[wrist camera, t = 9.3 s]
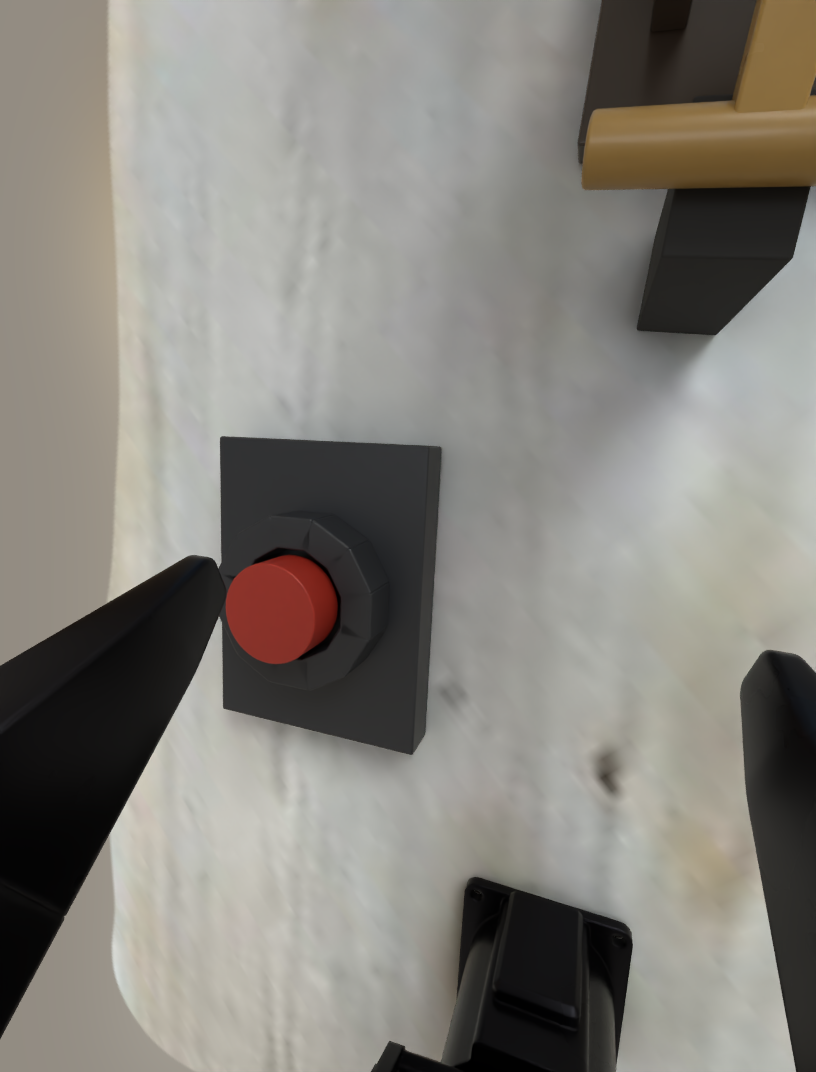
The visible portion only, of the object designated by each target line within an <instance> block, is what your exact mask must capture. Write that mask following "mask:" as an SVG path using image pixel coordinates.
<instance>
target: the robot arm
mask: <svg viewBox="0 0 816 1072" xmlns="http://www.w3.org/2000/svg"><path fill="white" fill-rule="evenodd" d="M225 599H226V586H225V584H224V581H223V579H222V576H221V574H220V572H219V569H218V567H217V564H216V562H215V561H214V560H213V559H212V558H209V557H203V556H197V555H191V556H188V557H186V558H184V559H182V560H181V561H179V562H177V563H175V564H174V565H172V566H170V567H169V568H167V569H165V570H163V571H162V572H160V573H158V574H157V575H155V576H153V577H151V578H150V579H148V580H146V581H145V582H143V583H141V584H140V585H138V586H136V587H134V588H133V589H131V590H129V591H128V592H126V593H124V594H122V595H121V596H119V597H117V598H116V599H114V600H112V601H110V602H109V603H107V604H105V605H104V606H102V607H100V608H98V609H97V610H95V611H93V612H92V613H90V614H88V615H86V616H85V617H83V618H81V619H80V620H78V621H76V622H74V623H73V624H71V625H69V626H68V627H66V628H64V629H62V630H61V631H59V632H57V633H56V634H54V635H52V636H51V637H49V638H47V639H45V640H44V641H42V642H40V643H38V644H37V645H35V646H33V647H32V648H30V649H28V650H26V651H25V652H23V653H21V654H20V655H18V656H16V657H14V658H13V659H11V660H9V661H8V662H6V663H4V664H3V665H1V666H0V1038H1V1037H2V1035H3V1033H4V1031H5V1029H6V1027H7V1025H8V1024H9V1022H10V1020H11V1018H12V1016H13V1014H14V1012H15V1010H16V1008H17V1007H18V1005H19V1003H20V1001H21V999H22V997H23V995H24V994H25V992H26V990H27V988H28V986H29V984H30V982H31V980H32V979H33V977H34V975H35V973H36V971H37V969H38V968H39V966H40V964H41V962H42V960H43V958H44V956H45V954H46V952H47V951H48V949H49V947H50V945H51V943H52V941H53V939H54V938H55V936H56V934H57V932H58V930H59V928H60V926H61V924H62V923H63V921H64V916H65V915H66V914H67V913H68V911H69V909H70V906H71V905H72V903H73V901H74V899H75V898H76V896H77V894H78V892H79V890H80V888H81V886H82V885H83V883H84V881H85V879H86V877H87V875H88V873H89V871H90V869H91V867H92V866H93V864H94V862H95V860H96V858H97V856H98V855H99V853H100V851H101V849H102V847H103V845H104V843H105V841H106V840H107V838H108V836H109V834H110V832H111V830H112V828H113V827H114V825H115V823H116V821H117V819H118V817H119V815H120V813H121V812H122V810H123V808H124V806H125V804H126V802H127V800H128V798H129V797H130V795H131V793H132V791H133V789H134V787H135V785H136V783H137V782H138V780H139V778H140V776H141V774H142V772H143V770H144V768H145V767H146V765H147V763H148V761H149V759H150V757H151V755H152V754H153V752H154V750H155V748H156V746H157V744H158V742H159V740H160V739H161V737H162V735H163V733H164V731H165V729H166V727H167V725H168V724H169V722H170V720H171V718H172V716H173V714H174V712H175V710H176V709H177V707H178V705H179V703H180V701H181V699H182V697H183V695H184V694H185V692H186V690H187V688H188V686H189V684H190V682H191V680H192V678H193V676H194V674H195V672H196V670H197V668H198V666H199V663H200V661H201V659H202V656H203V654H204V651H205V649H206V646H207V644H208V641H209V639H210V636H211V634H212V632H213V629H214V627H215V624H216V622H217V619H218V617H219V614H220V612H221V609H222V607H223V604H224V602H225ZM740 699H741V717H742V735H743V752H744V770H745V784H746V795H747V802H748V808H749V814H750V820H751V825H752V831H753V836H754V842H755V847H756V853H757V858H758V864H759V869H760V875H761V880H762V886H763V891H764V897H765V902H766V908H767V913H768V919H769V924H770V930H771V935H772V941H773V946H774V952H775V957H776V963H777V968H778V974H779V979H780V985H781V990H782V996H783V1001H784V1007H785V1012H786V1018H787V1023H788V1029H789V1034H790V1040H791V1045H792V1051H793V1056H794V1062H795V1067H796V1072H816V672H815V671H814V670H813V669H812V668H811V667H810V666H809V665H808V664H807V663H806V661H805V660H803V659H802V658H801V657H800V656H798V655H796V654H792V653H786V652H780V651H774V650H766V651H764V652H763V653H762V654H761V655H760V656H759V658H758V659H757V660H756V662H755V663H754V665H753V666H752V668H751V669H750V671H749V672H748V674H747V675H746V677H745V678H744V680H743V682H742V685H741V691H740ZM474 890H478V891H479V892H481V894H478V893H476V892H475V891H474ZM615 935H618V936H621V937H623V938H622V939H618V938H616V937H614V936H615ZM632 948H633V943H632V932H631V931H630V929H629V927H627V926H626V925H625V924H624V923H622V922H619V921H616V920H613V919H610V918H607V917H603V916H600V915H597V914H594V913H591V912H587V911H584V910H581V909H578V908H575V907H571V906H568V905H565V904H562V903H559V902H555V901H552V900H549V899H546V898H543V897H539V896H536V895H533V894H530V893H527V892H523V891H520V890H517V889H514V888H511V887H507V886H504V885H501V884H498V883H495V882H491V881H488V880H485V879H482V878H478V877H473V878H471V879H469V880H468V883H467V886H466V889H465V895H464V908H463V922H462V935H461V948H460V962H459V975H458V988H457V1001H456V1005H455V1009H454V1013H453V1016H452V1020H451V1024H450V1028H449V1032H448V1036H447V1040H446V1044H445V1048H444V1052H443V1056H442V1060H441V1062H438V1061H435V1060H432V1059H429V1058H427V1057H424V1056H421V1055H418V1054H415V1053H412V1052H409V1051H407V1050H405V1046H403V1045H400V1044H397V1043H394V1042H391V1041H389V1042H388V1044H387V1046H386V1048H385V1050H384V1052H383V1054H382V1056H381V1057H380V1059H379V1061H378V1063H377V1064H375V1065H374V1067H373V1069H372V1071H371V1072H616V1063H617V1056H618V1049H619V1042H620V1034H621V1027H622V1020H623V1013H624V1006H625V998H626V991H627V984H628V977H629V969H630V962H631V955H632Z"/></svg>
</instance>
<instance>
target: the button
mask: <svg viewBox="0 0 816 1072" xmlns="http://www.w3.org/2000/svg"><path fill="white" fill-rule="evenodd" d="M337 611H338V602H337V596H336V592H335V589H334V587H333V584H332V582H331V580H330V579H329V577H328V576H327V574H326V573H325V572H324V571H323V570H322V569H321V568H320V567H319V566H318V565H317V564H315V563H314V562H313V561H311V560H309V559H307V558H304V557H301V556H297V555H283V556H279V557H276V558H273V559H270V560H267V561H263V562H260V563H257V564H254V565H251V566H249V567H247V568H245V569H244V570H242V571H241V572H240V573H239V574H238V575H237V576H236V577H235V578H234V580H233V582H232V583H231V585H230V587H229V590H228V593H227V598H226V616H227V621H228V624H229V627H230V630H231V632H232V634H233V636H234V638H235V639H236V641H237V642H238V644H239V645H240V646H241V647H242V648H243V649H244V650H245V651H246V652H247V653H248V654H250V655H251V656H252V657H254V658H256V659H257V660H260V661H262V662H265V663H269V664H284V663H288V662H291V661H293V660H295V659H297V658H299V657H300V656H301V655H303V654H304V653H306V652H307V651H309V650H310V649H312V648H313V647H315V646H316V645H318V644H319V643H321V642H322V641H323V640H324V639H325V638H326V637H327V636H328V635H329V634H330V632H331V631H332V629H333V627H334V625H335V622H336V618H337Z"/></svg>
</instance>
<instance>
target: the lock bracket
mask: <svg viewBox="0 0 816 1072" xmlns="http://www.w3.org/2000/svg"><path fill="white" fill-rule="evenodd" d="M756 1H757V0H602V3H601V8H600V14H599V20H598V26H597V32H596V38H595V44H594V50H593V55H592V61H591V67H590V73H589V79H588V85H587V91H586V97H585V103H584V108H583V114H582V120H581V126H580V132H579V138H578V160H579V163H581V164H583V156H584V148H585V142H586V135H587V130H588V125H589V121H590V117H591V115H592V113H593V111H594V110H596V109H603V108H619V107H635V106H651V105H667V104H683V103H692V101H693V99H694V98H695V97H696V96H708V95H723V94H733V93H734V89H735V85H736V81H737V77H738V73H739V69H740V65H741V61H742V57H743V53H744V49H745V45H746V41H747V37H748V33H749V29H750V25H751V21H752V17H753V13H754V9H755V5H756ZM814 88H816V76H815V80H814V83H813V86H812V89H814Z"/></svg>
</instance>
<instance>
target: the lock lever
mask: <svg viewBox="0 0 816 1072" xmlns="http://www.w3.org/2000/svg"><path fill="white" fill-rule="evenodd" d="M815 76H816V0H757V1H756V5H755V9H754V13H753V17H752V21H751V25H750V29H749V33H748V37H747V41H746V45H745V49H744V53H743V57H742V61H741V65H740V69H739V73H738V77H737V81H736V85H735V89H734V93H733V97H732V100H731V101H715V102H699V103H683V104H667V105H651V106H635V107H619V108H603V109H596V110H594V111H593V113H592V115H591V117H590V121H589V125H588V130H587V135H586V142H585V148H584V156H583V165H582V188H583V189H584V190H630V189H688V188H746V187H804V186H816V95H811V96H810V93H811V89H812V86H813V83H814V80H815Z"/></svg>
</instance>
